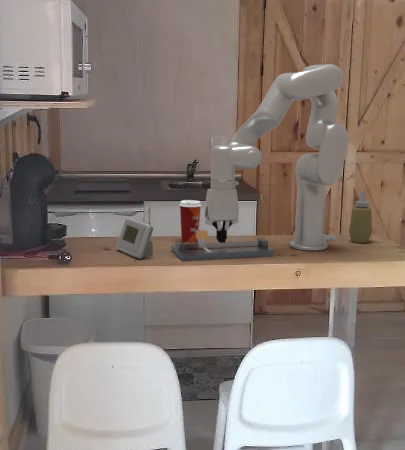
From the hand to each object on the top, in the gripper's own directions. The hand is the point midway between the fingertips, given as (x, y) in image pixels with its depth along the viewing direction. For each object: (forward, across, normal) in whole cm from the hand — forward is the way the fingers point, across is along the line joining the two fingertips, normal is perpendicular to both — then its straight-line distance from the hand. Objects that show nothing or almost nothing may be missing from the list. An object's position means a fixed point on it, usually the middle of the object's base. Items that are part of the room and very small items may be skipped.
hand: (221, 241), depth 211 cm
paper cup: (+4, +5, -20) cm, 21 cm away
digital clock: (+4, +27, -5) cm, 28 cm away
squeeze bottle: (+4, -54, -7) cm, 55 cm away
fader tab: (+1, +7, 0) cm, 7 cm away
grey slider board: (+4, 0, 0) cm, 4 cm away
